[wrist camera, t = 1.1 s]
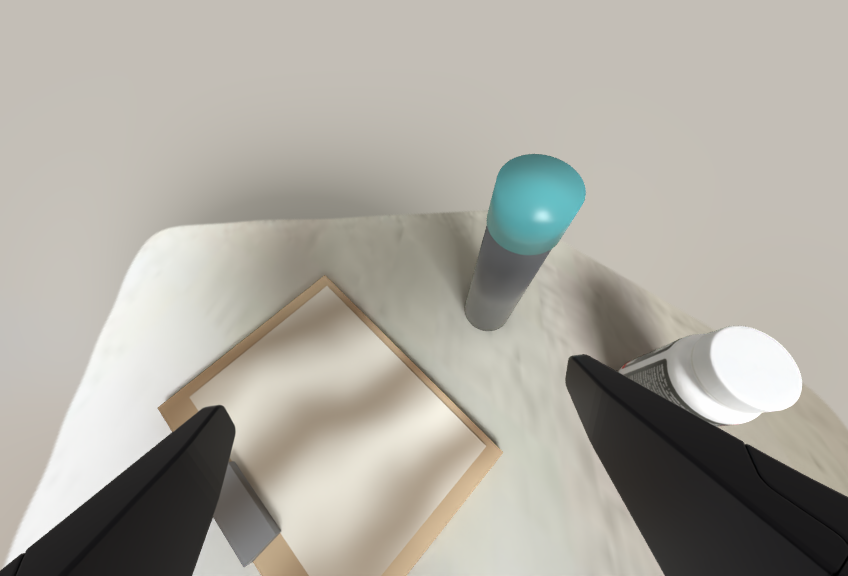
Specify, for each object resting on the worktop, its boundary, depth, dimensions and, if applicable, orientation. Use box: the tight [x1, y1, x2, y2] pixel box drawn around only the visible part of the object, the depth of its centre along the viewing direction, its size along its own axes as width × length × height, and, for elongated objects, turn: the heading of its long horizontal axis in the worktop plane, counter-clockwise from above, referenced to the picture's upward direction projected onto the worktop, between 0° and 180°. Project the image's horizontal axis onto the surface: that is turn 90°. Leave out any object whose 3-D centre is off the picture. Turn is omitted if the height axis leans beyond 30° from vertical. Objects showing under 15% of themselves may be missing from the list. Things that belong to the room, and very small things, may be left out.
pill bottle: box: [619, 326, 802, 426], centre depth 19 cm, size 5×5×8 cm
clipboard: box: [158, 275, 503, 576], centre depth 21 cm, size 18×14×2 cm
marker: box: [465, 154, 586, 331], centre depth 20 cm, size 4×4×14 cm
